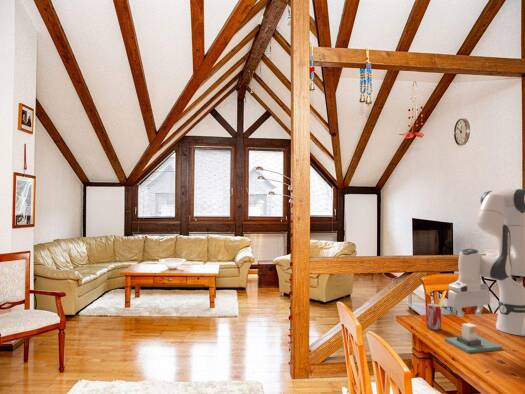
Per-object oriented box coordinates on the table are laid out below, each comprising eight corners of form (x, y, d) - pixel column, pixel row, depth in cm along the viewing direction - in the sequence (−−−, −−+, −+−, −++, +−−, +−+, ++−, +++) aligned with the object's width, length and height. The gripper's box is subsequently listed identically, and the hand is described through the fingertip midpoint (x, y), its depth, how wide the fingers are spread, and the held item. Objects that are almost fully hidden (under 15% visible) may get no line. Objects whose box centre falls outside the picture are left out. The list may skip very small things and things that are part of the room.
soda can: (442, 331, 185) (442, 307, 185) (427, 330, 186) (427, 306, 186) (439, 326, 192) (439, 303, 192) (424, 325, 193) (424, 302, 193)
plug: (469, 340, 169) (469, 323, 169) (477, 344, 165) (477, 326, 165) (461, 341, 168) (462, 323, 168) (469, 345, 164) (469, 327, 164)
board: (476, 337, 176) (476, 331, 176) (502, 349, 162) (502, 342, 162) (444, 340, 172) (444, 334, 172) (468, 353, 158) (468, 345, 158)
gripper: (482, 281, 172) (482, 311, 173) (445, 285, 167) (445, 315, 168) (494, 285, 166) (494, 315, 166) (456, 288, 161) (456, 320, 161)
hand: (469, 315), depth 167 cm, fingers open, 8 cm apart
